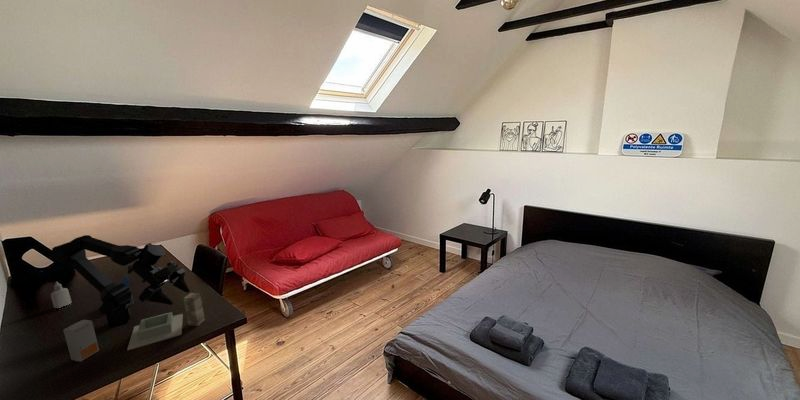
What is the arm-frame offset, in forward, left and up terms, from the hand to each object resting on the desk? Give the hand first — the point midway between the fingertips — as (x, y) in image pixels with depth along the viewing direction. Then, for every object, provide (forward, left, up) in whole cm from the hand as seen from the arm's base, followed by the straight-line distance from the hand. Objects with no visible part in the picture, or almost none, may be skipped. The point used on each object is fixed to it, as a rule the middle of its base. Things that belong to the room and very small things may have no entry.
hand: (180, 297), depth 128 cm
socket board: (-9, -1, -11) cm, 14 cm away
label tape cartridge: (-23, +34, -11) cm, 43 cm away
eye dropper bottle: (-47, +46, -11) cm, 67 cm away
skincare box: (-29, -4, -11) cm, 31 cm away
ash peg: (+4, -3, -11) cm, 12 cm away
